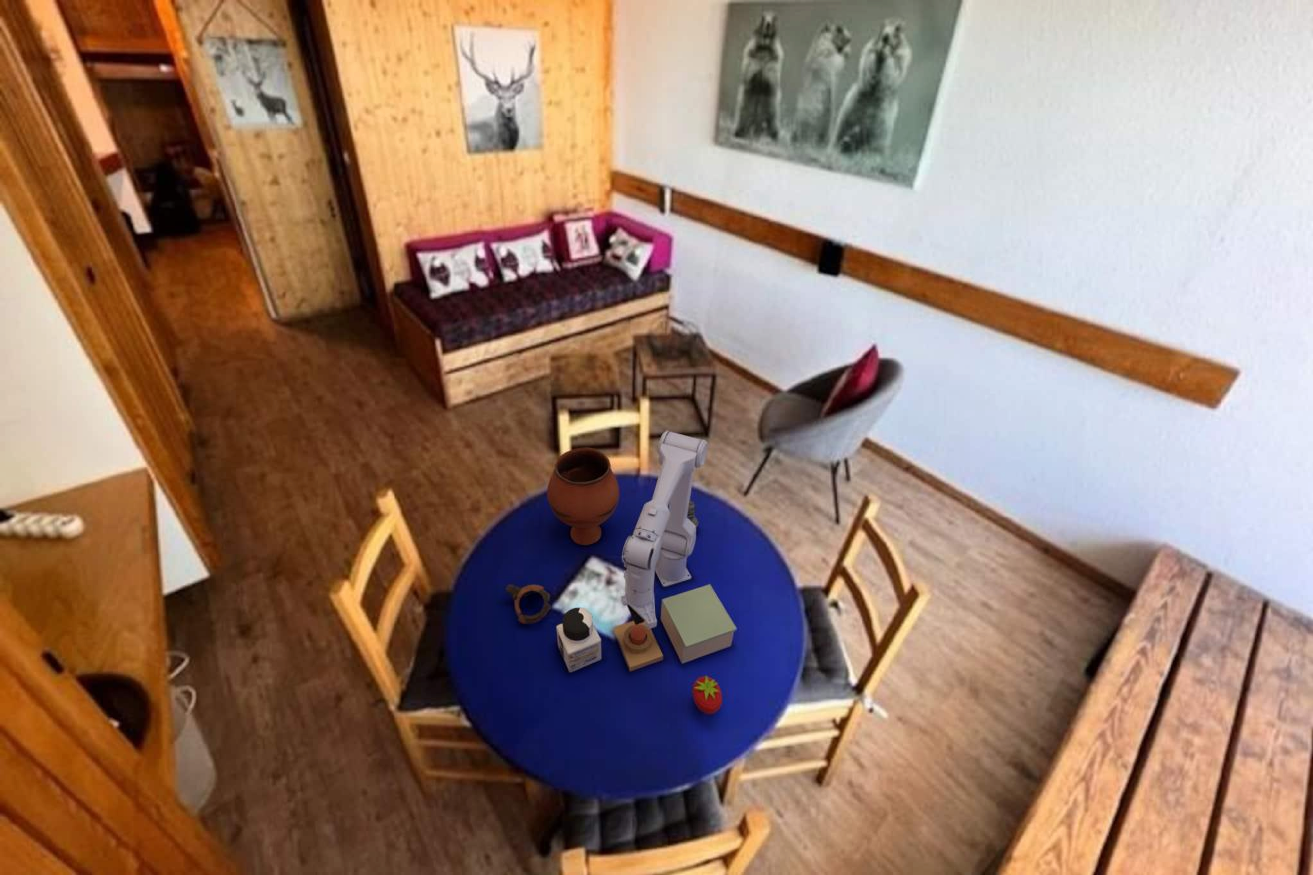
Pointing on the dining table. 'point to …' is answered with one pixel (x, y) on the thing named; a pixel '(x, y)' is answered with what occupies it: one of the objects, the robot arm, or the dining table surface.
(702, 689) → the strawberry
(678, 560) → the robot arm
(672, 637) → the wooden box
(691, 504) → the salt shaker
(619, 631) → the control block
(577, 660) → the container
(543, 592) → the rusty metal ring
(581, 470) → the goblet
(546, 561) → the dining table surface
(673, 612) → the lid
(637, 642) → the button
